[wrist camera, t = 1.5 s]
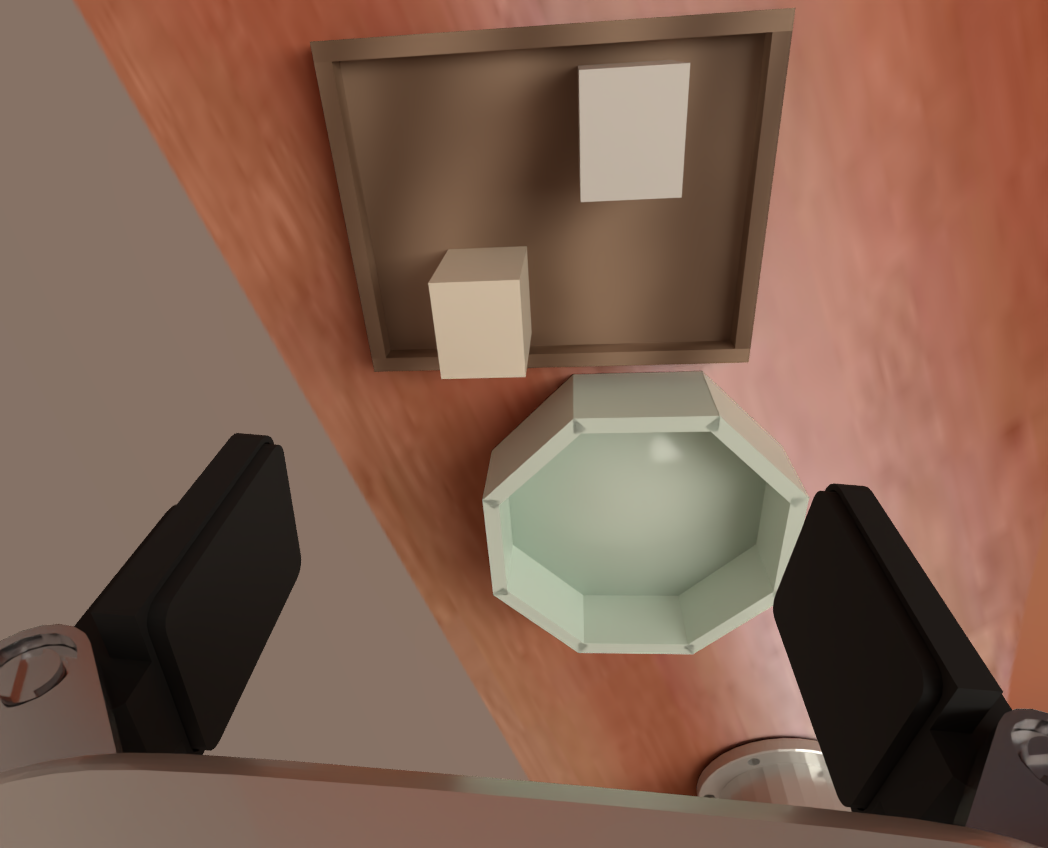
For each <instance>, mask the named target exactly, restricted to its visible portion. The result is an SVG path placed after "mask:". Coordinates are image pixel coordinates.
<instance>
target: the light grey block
mask: <svg viewBox="0 0 1048 848" xmlns="http://www.w3.org/2000/svg"><path fill="white" fill-rule="evenodd" d="M689 76H690V63H688V62H682V61H675V60H658V61H643V62H627V63H612V64H596V65H581V66H578V124H579V183H580V200H581V202H595V201H617V200H638V199H660V198H681V197H682V184H683V169H684V153H685V138H686V122H687V107H688V91H689Z"/></svg>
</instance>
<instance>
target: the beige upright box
mask: <svg viewBox="0 0 1048 848" xmlns="http://www.w3.org/2000/svg"><path fill="white" fill-rule="evenodd" d="M428 285H429V292H430V300H431V307H432V314H433V321H434V329H435V336H436V343H437V350H438V358H439V365H440V372H441V379H459V378H501V377H526V370H527V363H528V356H529V348H530V341H531V334H532V330H531V312H530V294H529V276H528V258H527V246H519V247H494V248H470V249H448V251H447V252H446V254H445V256H444V258H443V259H442V261H441V263H440V264H439V266H438V268H437V269H436V271H435V273H434V274H433V276H432V278H431V279H430V281H429V283H428Z"/></svg>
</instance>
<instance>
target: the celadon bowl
mask: <svg viewBox="0 0 1048 848" xmlns="http://www.w3.org/2000/svg"><path fill="white" fill-rule="evenodd" d="M808 500H809V496H808V494H807V492H806V491H805V489H804V487H803V485H802V483H801V481H800V479H799V477H798V475H797V473H796V471H795V470H794V468H793V466H792V464H791V462H790V460H789V458H788V456H787V454H786V452H785V450H784V449H783V447H782V446H781V445H780V444H779V443H778V442H777V441H776V440H775V439H774V438H773V437H772V436H771V435H769V434H768V433H767V432H766V431H765V430H764V429H763V428H762V427H761V426H760V425H759V424H758V423H757V422H756V421H755V420H753V419H752V418H751V417H750V416H749V415H748V414H747V413H746V412H745V411H744V410H743V409H742V408H741V407H740V406H739V405H737V404H736V403H735V402H734V401H733V400H732V399H731V398H730V397H729V396H728V395H727V394H726V393H725V392H724V391H723V390H721V389H720V388H719V387H718V386H717V385H716V384H715V383H714V382H713V381H712V380H711V379H710V378H709V377H708V376H707V375H705V374H704V373H703V372H702V371H692V372H651V373H609V374H573V375H572V376H571V377H570V378H569V379H568V380H567V381H566V382H565V383H564V384H562V385H561V386H560V387H559V388H558V389H557V390H556V391H555V392H554V393H553V394H552V395H551V396H550V397H549V398H548V399H546V400H545V401H544V402H543V403H542V404H541V405H540V406H539V407H538V408H537V409H536V410H535V411H534V412H533V413H532V414H530V415H529V416H528V417H527V418H526V419H525V420H524V421H523V422H522V423H521V424H520V425H519V426H518V427H517V428H516V429H514V430H513V431H512V432H511V433H510V434H509V435H508V436H507V437H506V438H505V439H504V440H503V441H502V442H501V443H500V444H498V445H497V446H496V447H495V448H494V449H493V450H492V453H491V458H490V463H489V468H488V473H487V478H486V484H485V489H484V494H483V499H482V501H483V509H484V518H485V527H486V536H487V544H488V553H489V562H490V571H491V580H492V588H493V595H494V596H496V597H497V598H498V599H500V600H501V601H503V602H504V603H506V604H507V605H509V606H510V607H512V608H513V609H515V610H516V611H518V612H519V613H521V614H522V615H524V616H525V617H526V618H528V619H529V620H531V621H532V622H534V623H535V624H537V625H538V626H540V627H541V628H543V629H544V630H546V631H547V632H549V633H550V634H552V635H553V636H554V637H556V638H557V639H559V640H560V641H562V642H563V643H565V644H566V645H568V646H569V647H571V648H572V649H574V650H575V651H577V652H578V653H633V654H694V653H696V652H697V651H699V650H701V649H702V648H704V647H706V646H707V645H709V644H711V643H712V642H714V641H716V640H717V639H719V638H721V637H722V636H724V635H726V634H727V633H729V632H730V631H732V630H734V629H735V628H737V627H739V626H740V625H742V624H744V623H745V622H747V621H749V620H750V619H752V618H754V617H755V616H757V615H758V614H760V613H762V612H763V611H765V610H767V609H768V608H770V607H772V606H773V602H774V598H775V595H776V592H777V590H778V587H779V585H780V582H781V579H782V577H783V574H784V572H785V569H786V567H787V564H788V562H789V559H790V557H791V554H792V552H793V549H794V547H795V544H796V542H797V539H798V537H799V534H800V532H801V529H802V526H803V524H804V519H805V515H806V510H807V505H808Z"/></svg>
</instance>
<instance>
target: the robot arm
mask: <svg viewBox="0 0 1048 848" xmlns="http://www.w3.org/2000/svg"><path fill="white" fill-rule="evenodd" d="M300 566H301V555H300V548H299V542H298V536H297V530H296V524H295V517H294V511H293V506H292V499H291V493H290V487H289V481H288V476H287V469H286V463H285V457H284V452H283V449H282V447H281V446H280V445H274V442H273V440H272V438H271V437H269V436H265V435H253V434H241V433H236V434H234V435H233V436H231V438H230V439H229V440H228V441H227V442H226V444H225V445H224V446H223V447H222V449H221V450H220V451H219V452H218V454H217V455H216V456H215V458H214V459H213V460H212V461H211V462H210V464H209V465H208V466H207V467H206V469H205V470H204V471H203V473H202V474H201V475H200V476H199V477H198V479H197V480H196V481H195V482H194V484H193V485H192V486H191V488H190V489H189V490H188V491H187V492H186V494H185V495H184V496H183V498H182V499H181V500H180V501H179V503H178V504H177V505H174V506H173V507H171V508H170V509H169V510H168V511H167V512H166V513H165V515H164V516H163V517H162V518H161V520H160V521H159V522H158V523H157V524H156V526H155V527H154V528H153V529H152V531H151V532H150V533H149V534H148V536H147V537H146V538H145V539H144V541H143V542H142V543H141V544H140V546H139V547H138V548H137V549H136V550H135V552H134V553H133V554H132V556H131V557H130V558H129V559H128V560H127V562H126V563H125V564H124V566H123V567H122V568H121V569H120V570H119V572H118V573H117V574H116V575H115V576H114V578H113V579H112V580H111V581H110V583H109V584H108V585H107V586H106V588H105V589H104V590H103V591H102V593H101V594H100V595H99V596H98V598H97V599H96V600H95V601H94V603H93V604H92V605H91V606H90V607H89V609H88V610H87V611H86V612H85V614H84V615H83V616H82V617H81V619H80V620H79V621H78V622H77V624H76V625H75V626H68V625H62V624H55V625H42V626H38V627H34V628H30V629H27V630H23V631H20V632H18V633H16V634H14V635H12V636H9V637H8V638H5V639H3V640H1V641H0V848H1048V713H1045V712H1042V711H1038V710H1034V709H1015V710H1012V709H1011V708H1010V706H1009V704H1008V703H1007V701H1006V700H1005V698H1004V697H1003V695H1002V693H1003V691H1002V689H1001V688H1000V686H999V685H998V683H997V682H996V680H995V679H994V677H993V676H992V674H991V673H990V671H989V670H988V668H987V666H986V665H985V663H984V662H983V660H982V659H981V657H980V656H979V654H978V653H977V651H976V650H975V648H974V647H973V645H972V644H971V642H970V641H969V639H968V637H967V636H966V634H965V633H964V631H963V630H962V628H961V627H960V625H959V624H958V622H957V621H956V619H955V618H954V616H953V615H952V613H951V612H950V610H949V608H948V607H947V605H946V604H945V602H944V601H943V599H942V598H941V596H940V595H939V593H938V592H937V590H936V589H935V587H934V586H933V584H932V583H931V581H930V579H929V578H928V576H927V575H926V573H925V572H924V570H923V569H922V567H921V566H920V564H919V563H918V561H917V560H916V558H915V557H914V555H913V554H912V552H911V550H910V549H909V547H908V546H907V544H906V543H905V541H904V540H903V538H902V537H901V535H900V534H899V532H898V531H897V529H896V528H895V526H894V525H893V523H892V521H891V520H890V518H889V517H888V515H887V514H886V512H885V511H884V509H883V508H882V506H881V505H880V503H879V502H878V500H877V499H876V497H875V496H874V494H873V492H872V491H871V490H870V489H869V488H868V487H865V486H856V485H845V484H830V485H829V486H828V487H827V488H826V490H825V491H818V492H817V493H816V495H815V497H814V499H813V501H812V504H811V506H810V509H809V511H808V514H807V516H806V519H805V521H804V524H803V526H802V529H801V532H800V534H799V537H798V539H797V542H796V544H795V547H794V549H793V552H792V554H791V557H790V559H789V562H788V564H787V567H786V569H785V572H784V574H783V577H782V579H781V582H780V585H779V587H778V590H777V592H776V595H775V598H774V602H773V613H774V618H775V621H776V624H777V627H778V630H779V633H780V635H781V638H782V641H783V644H784V647H785V650H786V652H787V655H788V658H789V661H790V664H791V667H792V669H793V672H794V675H795V678H796V681H797V684H798V686H799V689H800V692H801V695H802V698H803V701H804V703H805V706H806V709H807V712H808V715H809V717H810V720H811V723H812V726H813V729H814V732H815V734H816V737H817V740H818V741H815V740H808V739H801V738H777V739H766V740H761V741H756V742H752V743H748V744H745V745H742V746H739V747H736V748H734V749H732V750H730V751H728V752H726V753H724V754H722V755H720V756H719V757H718V758H716V759H715V760H713V761H712V762H711V763H710V764H709V765H708V766H707V767H706V768H705V769H704V770H703V772H702V774H701V775H700V777H699V779H698V783H697V787H696V789H697V796H687V795H676V794H666V793H655V792H644V791H633V790H622V789H611V788H600V787H589V786H577V785H566V784H555V783H544V782H533V781H521V780H509V779H498V778H487V777H476V776H464V775H452V774H441V773H429V772H417V771H405V770H393V769H381V768H369V767H357V766H345V765H333V764H321V763H309V762H296V761H284V760H269V759H255V758H240V757H238V758H237V757H225V756H209V755H203V753H204V751H205V750H212V749H214V748H215V747H216V746H217V744H218V742H219V741H220V739H221V737H222V735H223V733H224V731H225V728H226V726H227V724H228V722H229V720H230V718H231V716H232V714H233V712H234V710H235V707H236V705H237V703H238V701H239V699H240V697H241V695H242V693H243V691H244V689H245V687H246V684H247V682H248V680H249V678H250V676H251V674H252V672H253V670H254V667H255V666H256V663H257V661H258V659H259V657H260V655H261V653H262V651H263V649H264V647H265V645H266V642H267V640H268V638H269V636H270V634H271V632H272V630H273V628H274V626H275V624H276V622H277V619H278V617H279V615H280V613H281V611H282V609H283V607H284V605H285V603H286V600H287V598H288V596H289V594H290V592H291V590H292V588H293V586H294V584H295V582H296V580H297V577H298V575H299V571H300Z"/></svg>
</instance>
